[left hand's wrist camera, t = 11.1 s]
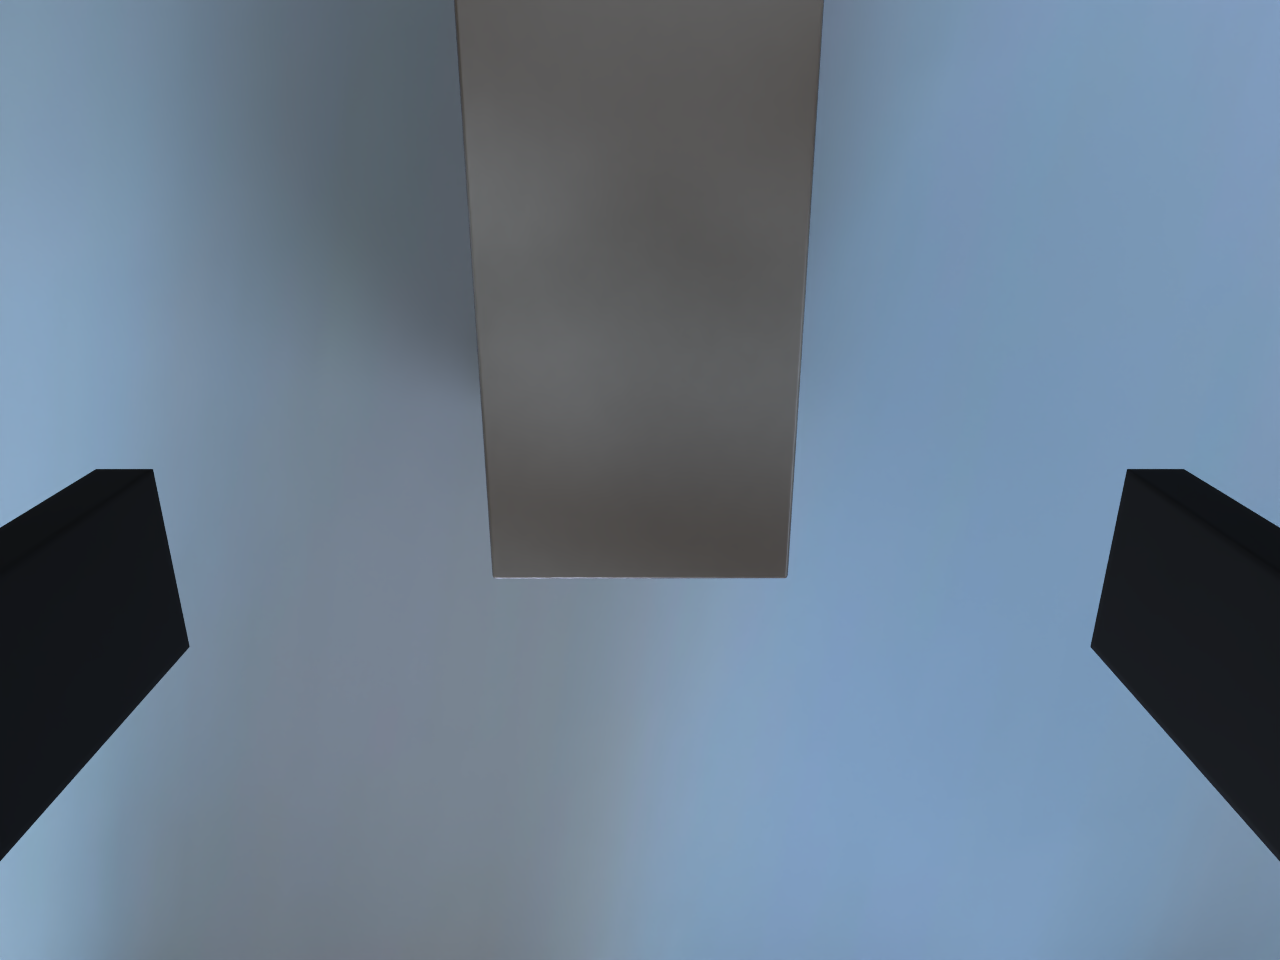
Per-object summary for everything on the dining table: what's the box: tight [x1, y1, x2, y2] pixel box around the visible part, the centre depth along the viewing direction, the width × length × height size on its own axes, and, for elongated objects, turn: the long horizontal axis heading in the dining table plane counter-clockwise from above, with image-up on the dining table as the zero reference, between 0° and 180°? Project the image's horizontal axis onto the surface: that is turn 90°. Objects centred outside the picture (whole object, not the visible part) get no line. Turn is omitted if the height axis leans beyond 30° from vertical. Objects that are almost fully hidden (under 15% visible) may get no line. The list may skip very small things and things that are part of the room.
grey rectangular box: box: [454, 0, 824, 579], centre depth 21 cm, size 21×6×12 cm, turn 0°
